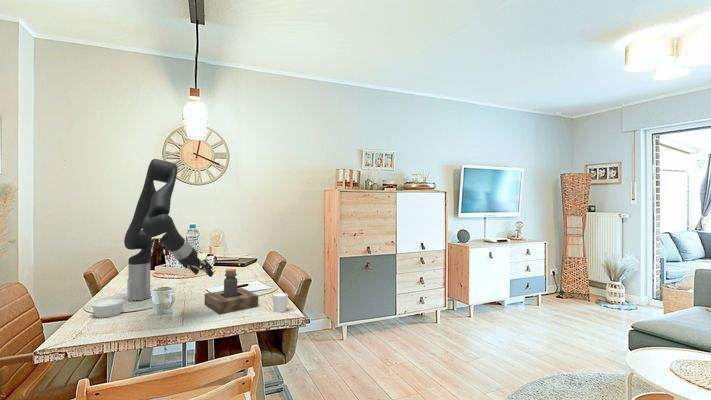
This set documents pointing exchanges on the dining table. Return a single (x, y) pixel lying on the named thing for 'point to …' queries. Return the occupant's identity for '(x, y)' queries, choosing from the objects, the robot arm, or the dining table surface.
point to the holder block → (231, 301)
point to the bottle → (230, 283)
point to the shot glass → (280, 302)
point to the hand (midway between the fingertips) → (204, 273)
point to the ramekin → (107, 307)
